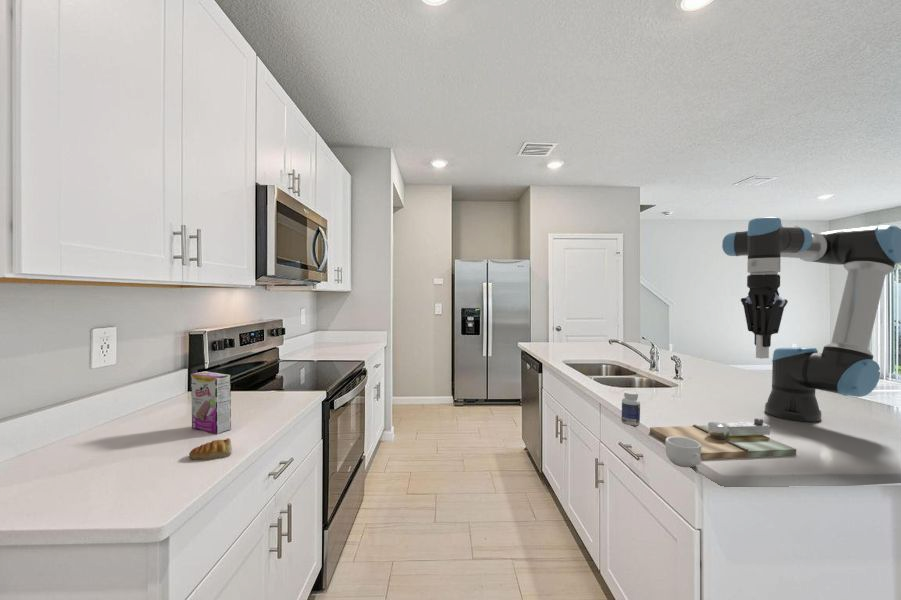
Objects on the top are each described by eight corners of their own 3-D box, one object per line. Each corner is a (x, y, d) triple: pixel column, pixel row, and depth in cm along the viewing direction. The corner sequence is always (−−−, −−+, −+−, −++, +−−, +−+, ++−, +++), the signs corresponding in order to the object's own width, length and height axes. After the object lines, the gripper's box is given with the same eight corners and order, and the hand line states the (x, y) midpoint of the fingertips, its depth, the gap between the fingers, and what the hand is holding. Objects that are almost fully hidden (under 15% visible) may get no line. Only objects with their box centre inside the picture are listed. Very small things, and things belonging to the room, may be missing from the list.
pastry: (188, 464, 104) (188, 448, 104) (189, 455, 110) (189, 440, 109) (232, 457, 108) (232, 442, 108) (231, 448, 114) (231, 434, 114)
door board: (736, 429, 133) (736, 422, 132) (796, 455, 113) (796, 446, 113) (649, 432, 129) (650, 424, 129) (696, 459, 109) (696, 450, 109)
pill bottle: (641, 426, 135) (642, 395, 134) (623, 425, 136) (623, 394, 135) (637, 421, 140) (638, 391, 140) (619, 420, 141) (620, 390, 141)
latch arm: (716, 437, 118) (716, 423, 118) (703, 431, 123) (704, 418, 123) (772, 435, 120) (772, 422, 120) (757, 429, 125) (758, 416, 125)
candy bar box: (190, 429, 128) (189, 373, 127) (206, 424, 133) (205, 370, 132) (216, 435, 123) (216, 377, 123) (232, 429, 128) (231, 374, 127)
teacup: (658, 458, 110) (658, 436, 110) (686, 456, 111) (687, 435, 111) (684, 475, 100) (684, 452, 100) (714, 473, 101) (715, 450, 101)
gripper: (732, 274, 128) (731, 354, 129) (772, 273, 115) (771, 362, 116) (755, 274, 129) (754, 353, 130) (797, 273, 116) (795, 361, 117)
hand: (762, 357), depth 123 cm, fingers closed
